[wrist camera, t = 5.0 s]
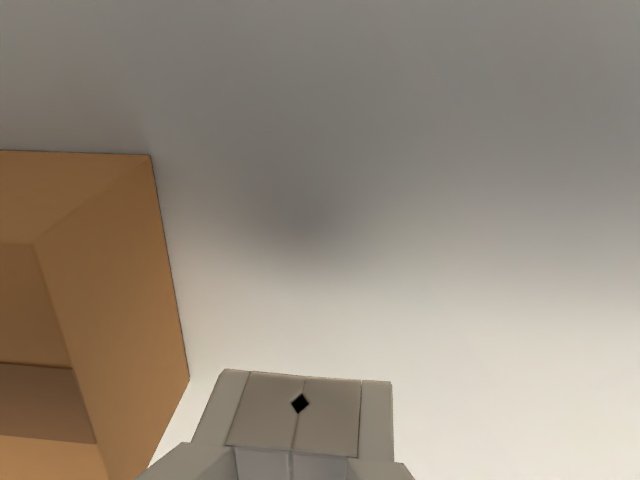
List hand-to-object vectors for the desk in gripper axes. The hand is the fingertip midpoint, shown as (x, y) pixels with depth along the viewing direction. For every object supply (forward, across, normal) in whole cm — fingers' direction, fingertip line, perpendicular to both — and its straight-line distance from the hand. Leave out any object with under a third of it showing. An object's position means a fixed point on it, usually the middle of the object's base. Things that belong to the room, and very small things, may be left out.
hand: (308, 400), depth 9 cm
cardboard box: (+3, +8, 0) cm, 8 cm away
